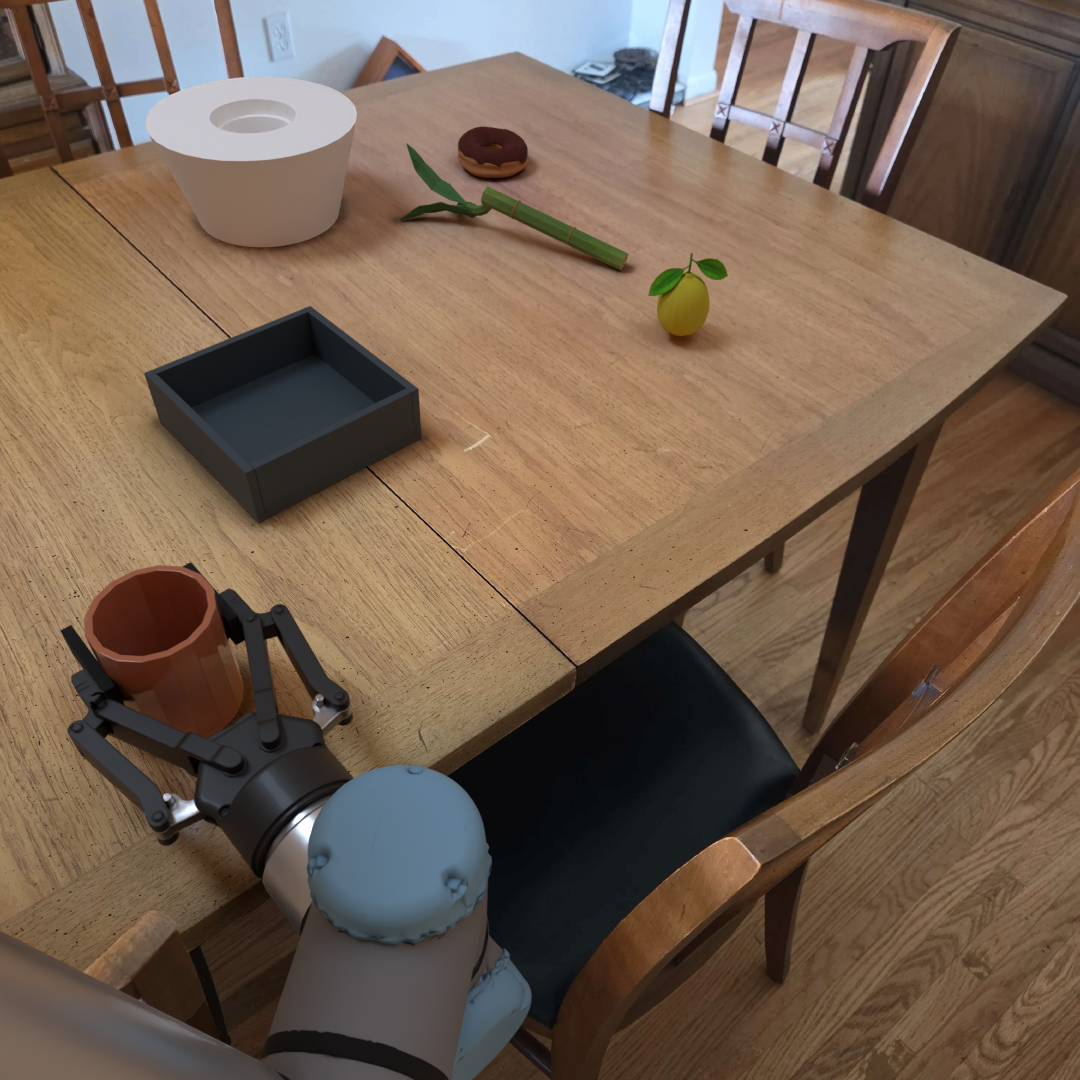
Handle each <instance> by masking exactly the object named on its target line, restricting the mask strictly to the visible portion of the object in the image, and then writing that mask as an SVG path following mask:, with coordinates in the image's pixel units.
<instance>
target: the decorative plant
mask: <svg viewBox="0 0 1080 1080" xmlns="http://www.w3.org/2000/svg"><path fill="white" fill-rule="evenodd" d="M406 148H407V150H408V155H409V157H410V160H411V163H412V166H413V168H414V170H415V173H416V174H417V176H419V178H421V180H422V181H423V182H424V183H425V184H426V185H427V187H428V188H429V189H430V190H431V191H432V192H434V193H436V194H437V195H440V196H441V197H443V198H445V199H447V200H448V201H452V202H455V203H456V204H449V203H446V202H443V201H438V202H433V203H429V204H422V205H418V206H416V207H415V208H413V209H411V211H409V212H408V213H406V214H405V215H404V216H402V217H401V218H400V219H399V221H403V220H409V219H413V218H416V217H419V216H422V215H424V214H434V213H435V214H436V213H440V212H445V211H447V212H449V213H451V214H455V215H456V214H457V215H462V216H465V217H468V218H471V219H474V218H476V217H482V216H485V215H488V214H489V212H490V211H491V210H494V211H496V212H498V213H500V214H503V216H506V217H509V218H510V219H511V220H515V221H517V222H519V223H521V224H523V225H525V226H526V227H529V228H531V229H533V230H535V231H537V232H539V233H541V234H543V235H546V236H548V237H550V238H552V239H554V240H556V241H558V242H560V243H562V244H565V245H567V246H569V247H571V248H573V249H575V250H577V251H579V252H581V253H584V254H585V255H588V256H589V257H592V258H594V259H596V260H597V261H600V262H602V263H604V264H606V265H608V266H610V267H612V268H614V269H617V270H618V271H622V269H623V268H624V266H625V264H626V262H627V260H628V259H629V258H628V257H629V253H628V252H626V251H624V250H621V249H620V248H617V247H616V246H613V245H611V244H609V243H608V242H605V241H603V240H602V239H599V238H597V237H595V236H593V235H591V234H588V233H586V232H584V231H583V230H580V229H578V228H577V227H576V226H572V225H570V224H567V223H566V222H563V221H561V220H560V219H557V218H555V217H553V216H550V215H549V214H547V213H545V212H542V211H540V210H538V209H536V208H534V207H532V206H530V205H528V204H525V203H524V202H522V200H520V199H519V200H517V199H515V198H513V197H511V196H509V195H507V194H505V193H502V192H501V191H498V190H496V189H494V188H492V187H490V186H486V187H485V189H484V190H483V191H482V193H481V197H480V203H481V204H479V205H477V204H476V203H474V202H472V201H466V200H465V199H464V198H463V197H462V195H461V194H460V193H459V192H458V191H457V190H456V188H454V187H453V185H452V184H451V183H449V182H447V181H446V180H444V179H442V178H441V177H440V176H439V175H438V174H437V173H436V171H434V169H432V167H430V166H429V165H428V163H427V162H426V161H425V160H424V159H423V157H422V156H421V155H420V154H419V153H418V151H417V150H416V149H414V148H413V147H412V146H411V145H410V144H408V143H406Z"/></svg>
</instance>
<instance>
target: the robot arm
mask: <svg viewBox="0 0 1080 1080" xmlns="http://www.w3.org/2000/svg"><path fill="white" fill-rule="evenodd" d="M181 567H184V568H187V569H189V570H192V571H194V572H196V573H199V574H201V575H202V576H203V577H204V578H205V580H206V581H207V582H208V583H209V584H210V585H211V586H212V587H213V589H214V592H215V595H216V599H217V602H218V605H219V608H220V611H221V614H222V617H223V620H224V623H225V626H226V629H227V632H228V635H229V638H230V641H231V642H232V643H233V644H234V645H235V646H238V645H239V644H241V643H243V642H244V645H245V649H246V655H247V656H246V657H247V663H248V668H249V674H250V681H251V687H252V698H253V705H254V710H255V712H254V711H253V710H248V711H247V712H246V713H244V714H243V715H242V716H240V717H239V718H238V719H237V720H236V721H234V723H233V724H232V725H230V726H227V727H224V728H223V729H222V730H220V731H218V732H216V733H214V734H213V735H211V736H210V737H208V738H204V737H202V736H200V735H198V734H195V733H193V732H189V733H185V732H183V731H181V730H178V729H176V728H174V727H172V726H169V725H167V724H165V723H163V722H160V721H158V720H156V719H154V718H151V717H149V716H147V715H145V714H143V713H140V712H138V711H136V710H134V709H131V708H129V707H127V706H125V704H124V702H123V700H122V698H121V696H120V694H119V692H118V690H117V688H116V686H115V684H114V683H113V682H112V680H111V679H110V678H109V676H108V675H107V674H106V672H105V671H104V670H103V668H102V667H101V665H100V664H99V663H98V661H97V659H96V657H95V655H94V653H93V652H92V650H90V649H89V647H88V646H87V644H86V643H85V642H84V640H83V639H82V637H81V636H80V635H79V633H78V632H77V630H75V628H74V627H73V625H72V624H70V625H68V626H65V627H64V628H62V629H60V630H59V631H60V633H61V635H62V637H63V639H64V641H65V642H66V644H67V646H68V648H69V650H70V652H71V654H72V655H73V657H74V658H75V660H76V661H77V663H78V664H79V665H80V667H81V668H82V669H81V670H79V671H76V672H75V673H74V674H72V675H71V676H70V680H71V684H72V686H73V688H74V690H75V691H76V693H77V695H78V697H79V698H80V699H81V701H82V702H83V704H84V705H85V707H86V708H87V710H88V711H87V713H86V715H85V716H84V717H83V718H82V719H78V720H75V721H73V722H71V723H70V724H69V725H68V727H67V730H66V733H67V735H68V736H69V738H70V741H71V742H72V743H73V745H74V746H75V748H76V750H77V751H78V753H79V754H80V757H82V758H83V759H84V760H85V761H86V762H88V764H90V765H91V766H92V767H93V768H94V769H96V771H97V772H99V774H101V775H102V777H104V778H105V779H106V780H107V781H108V782H109V783H110V784H111V785H112V786H114V787H115V788H116V790H118V791H119V792H120V793H121V794H122V795H123V796H124V797H126V799H128V800H129V801H130V803H132V804H133V805H134V806H135V807H136V808H137V809H138V810H140V811H141V812H142V813H143V814H144V816H145V819H146V821H147V824H148V826H149V827H150V829H151V830H152V832H153V834H154V836H155V838H156V840H157V841H158V843H159V844H160V845H162V846H164V847H168V846H171V845H173V844H175V843H176V842H177V841H178V839H179V838H180V831H183V830H184V829H186V828H189V827H190V826H193V825H194V824H196V823H198V822H200V821H202V820H203V821H204V822H206V823H209V824H212V825H215V826H217V827H218V828H219V829H221V830H222V832H223V833H224V834H225V836H226V837H227V839H228V840H229V841H230V844H231V845H233V847H234V848H235V850H236V851H237V852H238V854H239V855H240V856H241V858H242V859H243V861H244V862H245V864H246V865H247V866H248V867H249V869H250V870H251V871H252V873H253V875H254V876H256V877H258V878H259V879H261V880H262V884H263V887H264V889H265V891H266V892H267V894H268V895H269V896H270V898H271V899H272V901H273V902H274V904H276V906H277V907H278V909H279V910H280V911H281V913H282V914H283V915H284V917H285V918H286V920H287V921H288V923H290V925H291V926H292V928H293V929H294V930H295V931H296V933H297V934H298V936H299V937H300V938H299V941H298V944H297V947H296V950H295V953H294V956H293V959H292V962H291V965H290V968H289V972H288V974H287V978H286V980H285V983H284V986H283V989H282V993H281V995H280V999H279V1002H278V1004H277V1007H276V1009H275V1013H274V1016H273V1020H272V1022H271V1026H270V1029H269V1032H268V1035H267V1037H266V1040H265V1043H264V1045H263V1049H262V1051H261V1055H260V1058H259V1059H258V1058H255V1057H253V1056H251V1055H249V1054H247V1053H245V1052H243V1051H241V1050H239V1049H237V1048H236V1047H233V1046H231V1045H229V1044H227V1043H225V1042H223V1041H221V1040H219V1039H217V1038H215V1037H213V1036H211V1035H209V1034H207V1033H205V1032H204V1031H201V1030H199V1029H198V1028H195V1027H193V1026H191V1025H190V1024H187V1023H186V1022H183V1021H181V1020H180V1019H177V1018H175V1017H173V1016H171V1015H169V1014H167V1013H165V1012H164V1011H161V1010H159V1009H158V1008H155V1007H153V1006H152V1005H150V1004H147V1003H145V1002H143V1001H142V1000H139V999H138V998H136V997H134V996H131V995H130V994H127V993H125V992H124V991H122V990H119V989H117V988H116V987H114V986H111V985H110V984H108V983H105V982H104V981H102V980H100V979H98V978H96V977H94V976H92V975H90V974H87V973H86V972H84V971H82V970H80V969H78V968H76V967H74V966H71V965H69V964H67V963H66V962H64V961H62V960H59V959H58V958H56V957H54V956H52V955H50V954H48V953H46V952H44V951H42V950H40V949H38V948H36V947H34V946H32V945H30V944H28V943H26V942H24V941H22V940H20V939H18V938H16V937H14V936H12V935H10V934H8V933H7V932H4V931H2V930H0V1080H473V1079H474V1078H476V1077H477V1076H478V1075H479V1074H480V1073H481V1072H482V1071H483V1070H484V1069H485V1068H486V1067H487V1066H488V1065H490V1063H492V1061H493V1060H494V1059H495V1058H496V1057H497V1056H498V1055H499V1054H500V1053H501V1052H502V1050H504V1048H506V1046H507V1045H508V1044H509V1043H510V1041H511V1039H512V1038H513V1037H514V1036H515V1035H516V1033H517V1032H518V1030H519V1029H520V1027H521V1026H522V1025H523V1023H524V1021H525V1020H526V1018H527V1016H528V1014H529V1011H530V1009H531V1006H532V998H533V995H532V989H531V987H530V984H529V983H528V981H527V980H526V979H525V978H524V976H523V975H522V973H521V972H520V970H519V969H518V968H517V967H516V965H515V964H514V962H512V960H511V955H510V952H509V951H508V950H507V949H506V948H502V947H501V946H500V945H499V944H498V943H497V942H496V941H495V940H494V939H493V938H492V937H491V935H490V933H489V932H490V927H489V920H488V892H489V891H488V890H489V886H488V885H489V877H490V875H491V871H492V869H493V868H492V864H493V862H492V860H493V859H492V856H491V854H489V849H490V846H489V844H488V843H487V836H486V831H485V826H484V822H483V819H482V818H483V817H482V816H481V813H480V811H479V809H478V808H477V805H476V804H475V802H474V800H473V799H472V798H471V796H470V795H469V793H468V792H467V791H466V790H465V789H464V788H463V787H462V786H461V785H460V784H459V783H457V782H456V781H455V780H453V779H452V778H451V777H449V776H447V775H445V774H443V773H441V772H439V771H438V770H434V769H431V768H427V767H424V766H421V765H410V764H409V765H407V764H395V765H394V764H392V765H387V766H381V767H376V768H374V769H370V770H368V771H365V772H363V773H361V774H359V775H357V776H355V777H354V776H353V775H352V774H351V773H350V772H349V770H347V768H346V767H345V766H344V764H343V763H342V762H341V761H340V760H339V759H338V758H337V756H336V755H335V754H334V753H333V752H332V751H331V750H330V748H328V746H327V745H326V739H325V737H326V736H327V735H328V734H329V733H330V732H331V731H332V730H334V728H335V727H336V726H337V725H338V726H341V727H342V726H343V727H345V726H348V725H350V724H351V723H352V721H353V719H354V716H353V709H352V703H351V698H350V694H349V692H348V691H347V690H346V689H344V687H342V686H340V685H339V684H338V683H336V682H335V681H334V680H332V679H331V678H330V677H329V676H328V675H327V673H326V671H325V670H324V668H323V666H322V664H321V662H320V661H319V659H318V657H317V656H316V654H315V652H314V651H313V649H312V648H311V645H310V643H309V642H308V641H307V639H306V637H305V635H304V633H303V632H302V630H301V628H300V626H299V625H298V623H297V621H296V620H295V618H294V616H293V615H292V613H291V611H290V609H289V608H288V606H287V605H285V604H283V603H277V604H275V605H273V606H272V607H271V608H270V611H266V612H256V611H255V610H253V609H252V608H251V607H250V606H249V604H248V603H247V602H246V601H245V600H244V599H243V598H242V597H241V596H240V595H239V594H238V592H237V591H236V590H234V589H232V588H226V589H225V590H223V591H221V592H218V590H216V589H215V587H214V586H213V585H212V584H211V583H210V582H209V581H208V580H207V578H206V577H205V576H204V575H203V574H202V573H201V571H199V570H198V567H196V566H195V565H194V564H193V562H191V561H190V562H188V563H187V564H185V565H182V566H181ZM274 638H277V640H278V642H279V643H280V645H281V648H282V649H283V650H284V653H285V654H286V656H287V657H288V659H289V661H290V663H291V665H292V667H293V668H294V670H295V672H296V674H297V675H298V677H299V679H300V681H301V683H302V684H303V686H304V688H305V690H306V692H307V694H308V695H309V698H310V699H311V705H310V706H311V709H312V713H313V716H314V717H313V719H310V718H303V717H298V716H295V715H294V716H293V715H288V714H285V713H280V709H279V703H278V698H277V692H276V687H275V682H274V676H273V669H272V665H271V664H272V663H271V659H270V653H269V648H268V641H267V640H270V639H274ZM108 736H110V737H112V738H114V739H116V740H119V741H121V742H123V743H126V744H128V745H130V746H132V747H134V748H137V749H138V750H141V751H143V752H145V753H147V754H149V755H151V756H154V757H155V758H158V759H160V760H163V761H164V762H167V763H169V764H171V765H174V766H175V767H178V768H180V769H182V770H184V771H185V772H186V773H187V774H188V775H189V776H191V777H193V778H194V779H196V781H195V789H194V794H193V799H189V800H184V799H183V798H181V796H180V795H178V794H176V793H171V792H165V793H164V794H163V793H162V792H161V790H160V788H159V786H158V785H157V784H156V783H155V782H154V781H153V780H152V779H151V778H150V777H149V776H148V775H146V774H145V773H144V772H143V771H142V770H141V769H139V767H138V766H136V765H135V764H134V763H133V762H132V761H130V759H128V758H127V756H125V755H124V754H123V753H121V751H119V749H117V748H116V747H115V746H114V745H113V744H112V743H111V742H110V741H108V740H107V739H106V738H107V737H108Z"/></svg>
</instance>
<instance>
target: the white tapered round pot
mask: <svg viewBox="0 0 1080 1080" xmlns="http://www.w3.org/2000/svg"><path fill="white" fill-rule="evenodd" d="M357 117H358V111H357V108H356V105H355V104H354V103H353V101H351V99H350V98H349V97H347V96H346V95H345V94H344V93H342V92H340V91H338V90H336V89H334V88H332V87H329V86H327V85H324V84H320V83H317V82H314V81H309V80H304V79H298V78H289V77H281V76H245V77H244V76H243V77H233V78H225V79H218V80H214V81H213V80H212V81H208V82H203V83H199V84H196V85H193V86H189V87H186V88H183V89H181V90H178V91H176V92H174V93H171V94H169V95H168V96H166V97H164V98H162V99H161V100H159V101H158V102H156V103H155V104H154V105H153V106H152V108H150V109H149V111H148V113H147V114H146V116H145V119H144V127H145V130H146V132H147V134H148V137H149V138H150V140H151V141H152V143H153V145H154V147H155V148H156V150H157V152H158V153H159V154H158V155H159V156H160V157H161V159H162V162H164V164H165V166H166V168H167V169H168V171H169V173H170V174H171V176H172V178H173V179H174V181H175V183H176V185H177V186H178V188H179V190H180V191H181V193H182V195H183V198H184V199H185V200H186V202H187V203H188V206H189V207H190V209H191V210H192V212H193V214H194V216H195V218H196V219H197V221H198V223H199V225H200V226H201V228H202V229H203V230H204V231H205V232H206V233H207V234H208V235H209V236H211V237H213V238H214V239H216V240H219V241H221V242H223V243H226V244H230V245H234V246H240V247H249V248H274V247H275V248H276V247H283V246H289V245H295V244H300V243H301V242H306V241H309V240H311V239H313V238H315V237H318V236H320V235H322V234H323V233H324V232H326V231H328V230H329V229H330V228H331V227H332V226H333V225H334V224H335V223H336V222H337V220H338V218H339V216H340V215H339V214H340V211H341V210H340V209H341V205H342V199H343V193H344V189H345V184H346V183H345V182H346V177H347V172H348V166H349V162H350V161H349V160H350V155H351V150H352V146H353V140H354V135H355V128H356V124H357Z"/></svg>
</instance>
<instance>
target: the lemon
mask: <svg viewBox="0 0 1080 1080" xmlns="http://www.w3.org/2000/svg"><path fill="white" fill-rule="evenodd" d="M693 256H694V253H693V252H690V255H689V263H688V265H687V266H685V267H683V268H682V267H681V268H680V267H678V268H677V267H673V268H672V267H671V268H667V269H665V270H664V271H662V272H661V273H659V274H658V275H657V276H656V278H655V279H654V280H653V281H652V283H651V284H650V286H649V290H648V294H647V296H648V297H657V296H658V298H657V302H656V314H657V319H658V322H659V325H660V326H661V327H662V329H663V330H664V331H666V332H667V333H669V334H671V335H674V336H675V337H680V336H681V337H684V336H691V335H693V334H696V333H697V332H698V331H699V330H701V328H702V327H703V326H704V325H705V323H706V321H707V318H708V315H709V312H710V311H709V310H710V294H709V290H708V287H707V284H706V282H705V281H704V280H703V278H701V276H699V275H698V274H696V273H694V272H692V271H691V270H692V263H695V264H696V265H697V267H698V269H699V270H700V272H701V273H702V274H703V276H705V277H706V278H708V279H710V280H713V281H722V280H724V279H725V278H727V277H728V276H729V274H728V271H727V268H726V266H725V265H724V263H723V262H722V261H720V260H719V259H718V258H713V257H712V258H711V257H710V258H709V257H707V258H703V259H699V260H697V261H696V260H695V259H694V257H693ZM687 268H688V270H687ZM685 270H686V271H685Z"/></svg>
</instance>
